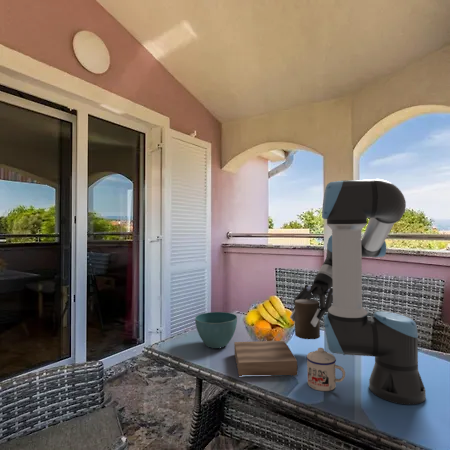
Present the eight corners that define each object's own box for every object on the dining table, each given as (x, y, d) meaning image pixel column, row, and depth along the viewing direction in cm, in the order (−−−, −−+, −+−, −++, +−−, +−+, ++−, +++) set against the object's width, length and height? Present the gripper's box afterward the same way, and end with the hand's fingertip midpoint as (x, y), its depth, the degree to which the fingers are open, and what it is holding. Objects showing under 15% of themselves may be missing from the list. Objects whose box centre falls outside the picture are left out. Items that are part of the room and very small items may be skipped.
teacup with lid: (302, 387, 103) (301, 349, 103) (312, 376, 110) (312, 341, 110) (341, 397, 96) (340, 358, 96) (349, 385, 103) (348, 348, 104)
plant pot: (186, 348, 137) (186, 319, 137) (209, 336, 153) (209, 309, 153) (224, 356, 128) (224, 325, 128) (244, 342, 144) (244, 314, 144)
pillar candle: (315, 341, 123) (315, 301, 123) (291, 337, 128) (291, 298, 129) (322, 334, 131) (322, 297, 132) (299, 330, 136) (299, 294, 137)
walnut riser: (297, 375, 111) (297, 360, 111) (238, 377, 110) (238, 362, 110) (284, 353, 131) (283, 340, 131) (234, 354, 130) (234, 342, 130)
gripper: (353, 286, 131) (330, 334, 121) (308, 280, 148) (285, 321, 138) (345, 274, 128) (321, 322, 118) (300, 270, 145) (276, 311, 135)
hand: (302, 322), depth 128 cm, fingers closed on pillar candle, 9 cm apart
